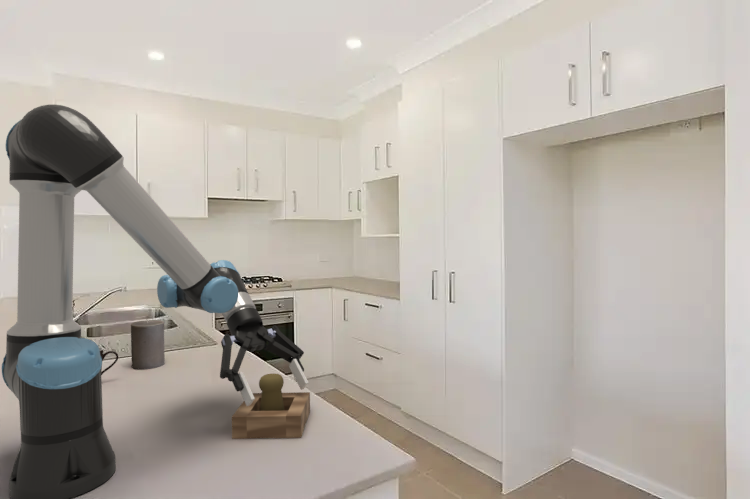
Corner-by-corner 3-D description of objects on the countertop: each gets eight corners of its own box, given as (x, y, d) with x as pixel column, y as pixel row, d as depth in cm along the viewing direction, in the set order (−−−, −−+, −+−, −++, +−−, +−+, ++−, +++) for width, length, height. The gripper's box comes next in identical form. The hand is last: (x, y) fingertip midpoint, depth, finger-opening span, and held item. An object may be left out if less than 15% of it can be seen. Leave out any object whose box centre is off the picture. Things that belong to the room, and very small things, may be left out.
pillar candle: (124, 368, 146) (123, 321, 146) (146, 360, 156) (145, 315, 155) (151, 370, 144) (149, 322, 143) (171, 362, 154) (170, 316, 153)
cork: (274, 417, 106) (273, 369, 106) (292, 423, 102) (291, 373, 102) (252, 426, 102) (251, 375, 101) (270, 433, 98) (268, 381, 97)
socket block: (301, 437, 95) (300, 415, 95) (232, 438, 95) (231, 416, 95) (310, 411, 109) (309, 392, 109) (250, 412, 109) (249, 393, 109)
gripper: (280, 318, 121) (317, 389, 111) (184, 334, 104) (218, 419, 94) (291, 300, 117) (331, 371, 107) (194, 313, 100) (231, 400, 90)
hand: (279, 394), depth 100 cm, fingers open, 13 cm apart
